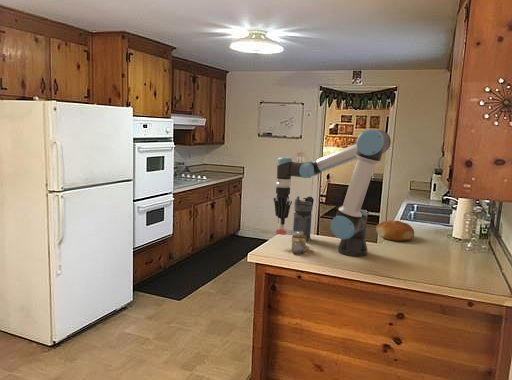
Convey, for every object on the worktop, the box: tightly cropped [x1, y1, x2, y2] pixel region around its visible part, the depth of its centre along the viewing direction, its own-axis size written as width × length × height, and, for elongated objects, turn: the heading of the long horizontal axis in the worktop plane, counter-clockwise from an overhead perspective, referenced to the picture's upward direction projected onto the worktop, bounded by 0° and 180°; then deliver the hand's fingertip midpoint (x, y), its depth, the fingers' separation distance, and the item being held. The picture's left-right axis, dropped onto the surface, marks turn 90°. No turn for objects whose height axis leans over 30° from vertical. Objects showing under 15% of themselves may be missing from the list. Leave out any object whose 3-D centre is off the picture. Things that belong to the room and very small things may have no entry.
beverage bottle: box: [292, 196, 315, 241], centre depth 239 cm, size 10×13×25 cm
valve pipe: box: [290, 235, 307, 255], centre depth 218 cm, size 18×7×8 cm, turn 171°
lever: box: [275, 228, 303, 236], centre depth 218 cm, size 14×4×2 cm, turn 81°
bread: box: [375, 220, 415, 242], centre depth 254 cm, size 23×23×10 cm
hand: (280, 230), depth 224 cm, fingers closed
